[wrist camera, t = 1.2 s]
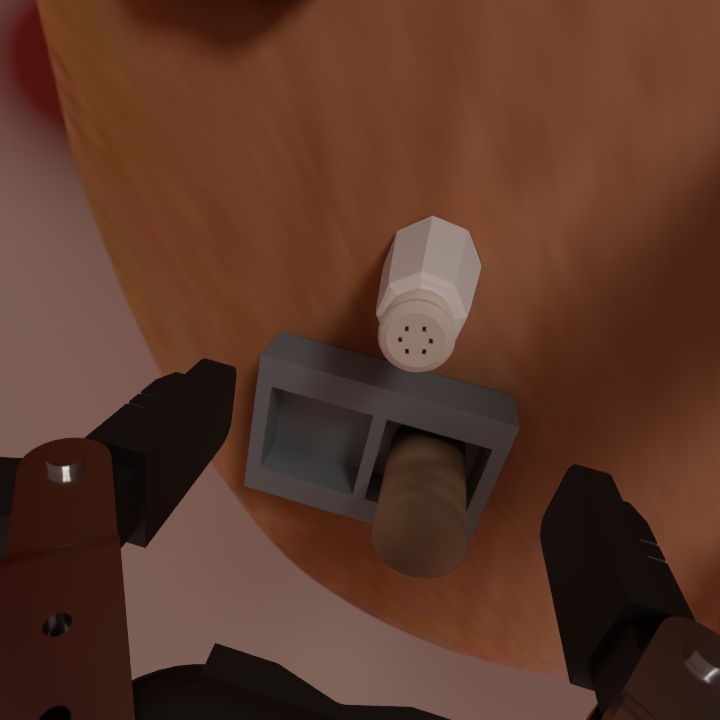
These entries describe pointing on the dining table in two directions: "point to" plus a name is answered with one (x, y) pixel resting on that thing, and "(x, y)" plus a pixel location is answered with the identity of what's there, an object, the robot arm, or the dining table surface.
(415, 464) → the fitted dowel
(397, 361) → the salt shaker
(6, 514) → the robot arm
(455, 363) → the dining table surface
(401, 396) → the grey rectangular open block
